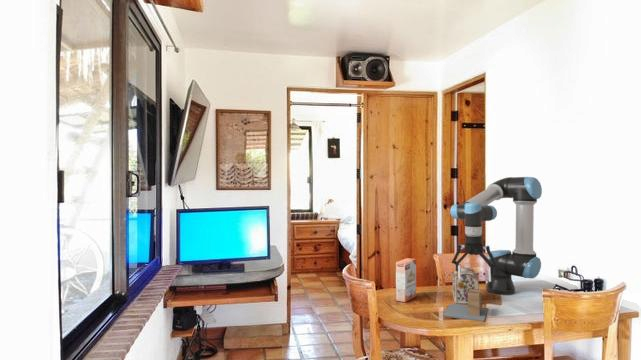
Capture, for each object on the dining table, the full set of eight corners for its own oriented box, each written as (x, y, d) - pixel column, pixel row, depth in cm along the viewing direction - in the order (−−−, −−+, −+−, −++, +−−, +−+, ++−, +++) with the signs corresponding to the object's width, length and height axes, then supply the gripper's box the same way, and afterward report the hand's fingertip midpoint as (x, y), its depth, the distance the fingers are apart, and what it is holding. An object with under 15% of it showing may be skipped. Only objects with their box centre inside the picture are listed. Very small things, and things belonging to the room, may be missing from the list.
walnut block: (470, 309, 197) (470, 288, 197) (481, 310, 194) (481, 289, 194) (468, 314, 189) (467, 293, 189) (479, 316, 186) (479, 294, 186)
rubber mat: (450, 304, 206) (450, 303, 206) (488, 309, 198) (488, 307, 198) (442, 316, 189) (442, 315, 189) (484, 321, 180) (483, 320, 180)
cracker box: (406, 303, 210) (405, 263, 210) (395, 301, 213) (394, 261, 213) (417, 296, 221) (416, 258, 221) (407, 295, 225) (406, 257, 225)
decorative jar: (479, 305, 205) (478, 269, 205) (455, 304, 207) (454, 269, 207) (475, 298, 216) (474, 264, 216) (452, 297, 219) (452, 264, 219)
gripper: (445, 235, 194) (446, 279, 194) (501, 237, 182) (502, 284, 182) (447, 233, 201) (449, 275, 201) (502, 235, 189) (503, 280, 189)
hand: (474, 279), depth 192 cm, fingers open, 13 cm apart
